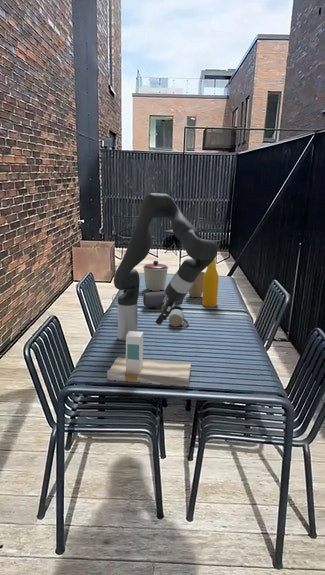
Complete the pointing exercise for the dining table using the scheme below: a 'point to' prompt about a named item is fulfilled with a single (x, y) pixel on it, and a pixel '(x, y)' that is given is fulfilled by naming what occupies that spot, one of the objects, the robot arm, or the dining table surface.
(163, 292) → the bluetooth speaker
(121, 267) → the robot arm
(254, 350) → the dining table surface
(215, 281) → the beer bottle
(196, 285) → the plant pot
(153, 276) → the canister
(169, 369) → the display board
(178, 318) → the ceramic mug
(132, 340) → the carton
